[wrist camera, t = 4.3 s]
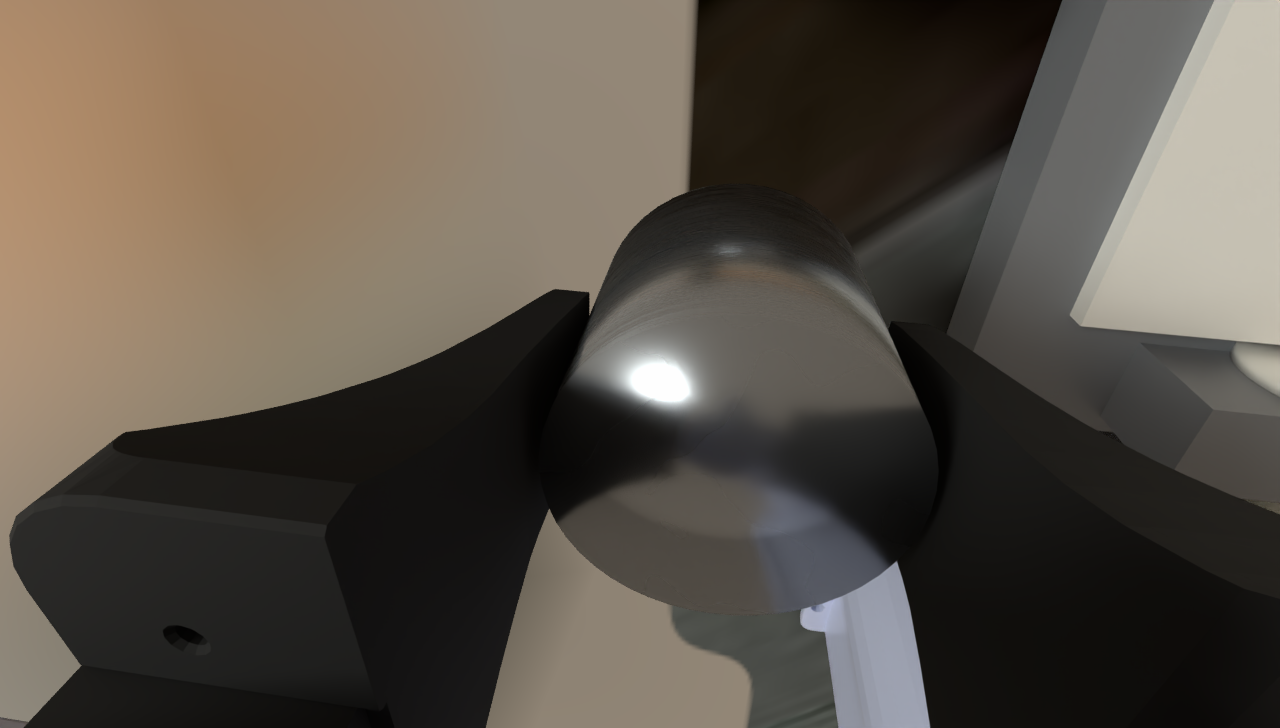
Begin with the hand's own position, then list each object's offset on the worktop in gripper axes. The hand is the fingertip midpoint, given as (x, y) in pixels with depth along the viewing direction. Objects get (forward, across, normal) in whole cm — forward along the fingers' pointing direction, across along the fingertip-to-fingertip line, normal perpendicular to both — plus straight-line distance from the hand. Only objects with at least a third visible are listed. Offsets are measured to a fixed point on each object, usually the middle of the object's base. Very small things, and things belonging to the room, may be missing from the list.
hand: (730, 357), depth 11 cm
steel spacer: (+2, 0, 0) cm, 2 cm away
